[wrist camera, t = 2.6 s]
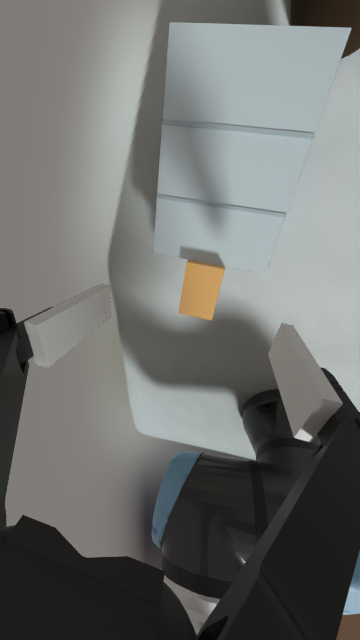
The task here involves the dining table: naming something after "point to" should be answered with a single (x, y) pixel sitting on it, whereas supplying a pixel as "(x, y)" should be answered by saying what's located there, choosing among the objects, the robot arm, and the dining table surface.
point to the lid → (235, 143)
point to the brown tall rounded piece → (330, 17)
